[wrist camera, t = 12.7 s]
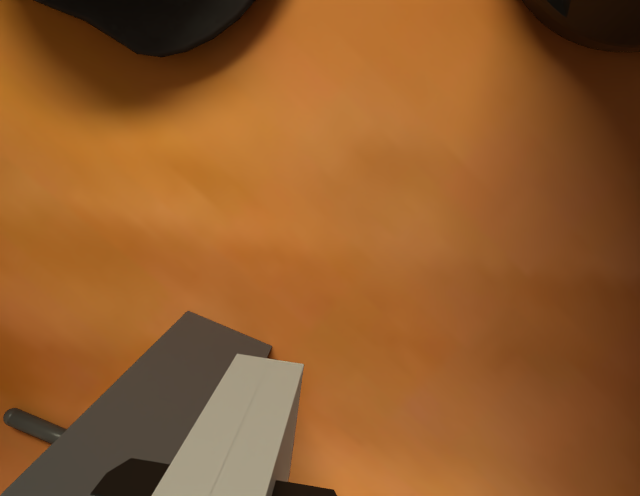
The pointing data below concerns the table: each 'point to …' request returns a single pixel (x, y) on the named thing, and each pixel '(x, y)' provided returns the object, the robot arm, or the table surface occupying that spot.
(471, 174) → the table surface
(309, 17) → the table surface
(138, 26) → the casserole
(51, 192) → the table surface
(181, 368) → the switch panel
